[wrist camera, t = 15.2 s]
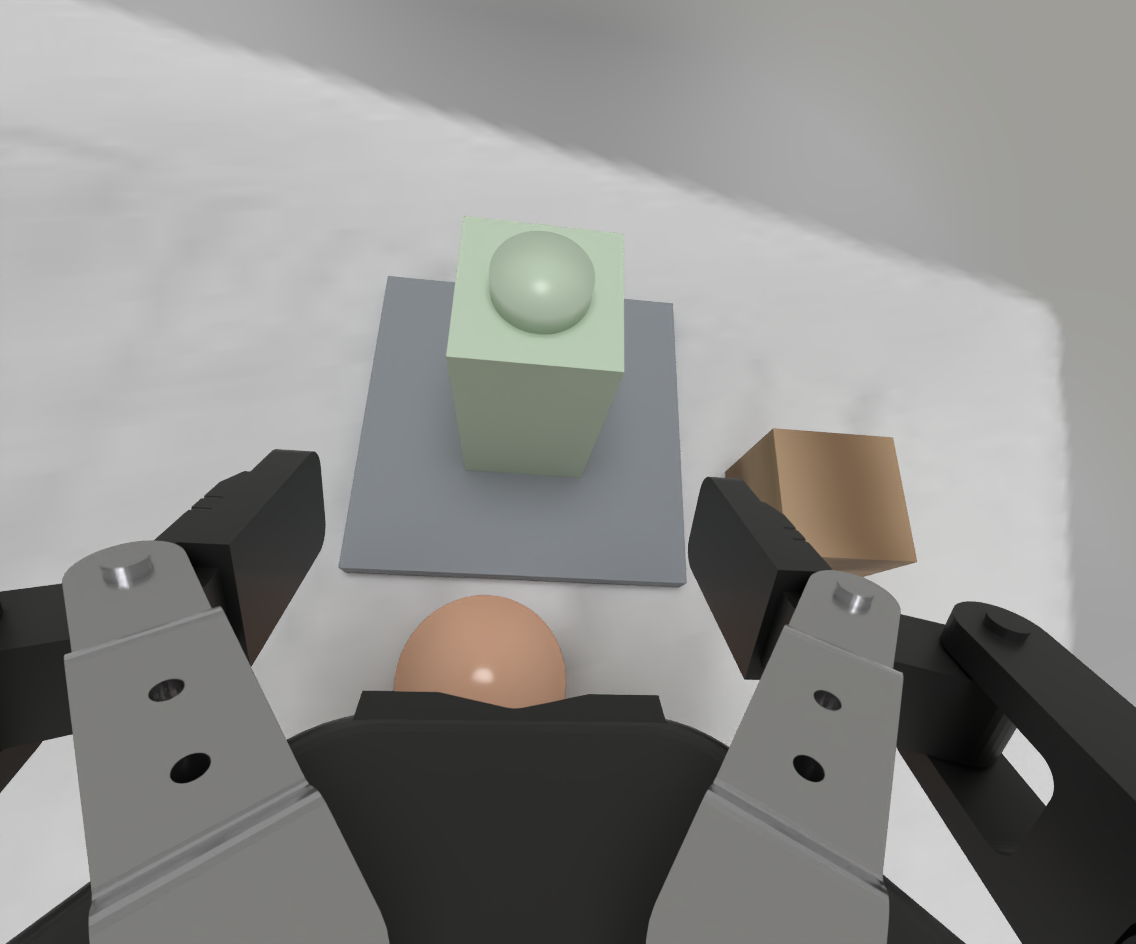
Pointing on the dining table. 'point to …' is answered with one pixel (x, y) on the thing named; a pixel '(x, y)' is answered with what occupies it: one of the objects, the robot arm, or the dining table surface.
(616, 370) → the sage brick
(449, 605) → the terracotta cylinder
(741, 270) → the dining table surface
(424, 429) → the slate mat
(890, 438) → the walnut block
